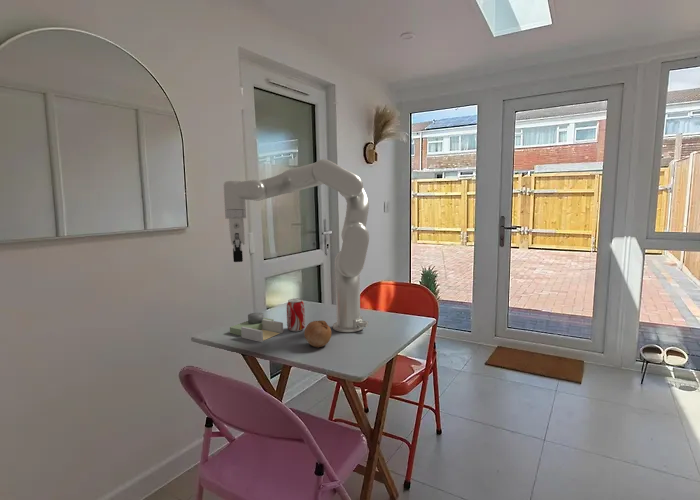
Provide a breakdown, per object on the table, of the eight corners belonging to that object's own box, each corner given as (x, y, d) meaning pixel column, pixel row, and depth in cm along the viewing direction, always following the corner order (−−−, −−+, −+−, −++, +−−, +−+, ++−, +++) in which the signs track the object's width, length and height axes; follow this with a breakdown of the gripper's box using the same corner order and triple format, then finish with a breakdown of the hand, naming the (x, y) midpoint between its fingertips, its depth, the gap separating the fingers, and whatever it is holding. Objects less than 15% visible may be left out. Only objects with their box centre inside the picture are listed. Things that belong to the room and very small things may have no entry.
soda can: (301, 332, 151) (301, 302, 150) (284, 332, 153) (283, 302, 151) (307, 327, 158) (306, 298, 157) (290, 326, 159) (290, 297, 158)
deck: (292, 328, 156) (291, 315, 156) (261, 342, 141) (260, 327, 141) (259, 322, 166) (259, 309, 165) (227, 334, 151) (226, 320, 150)
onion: (329, 352, 138) (341, 328, 137) (311, 353, 131) (324, 328, 130) (312, 337, 144) (324, 314, 143) (294, 338, 137) (306, 313, 135)
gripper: (247, 214, 138) (249, 262, 140) (245, 213, 155) (247, 256, 157) (224, 215, 136) (227, 263, 138) (225, 214, 152) (227, 257, 154)
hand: (237, 260), depth 147 cm, fingers open, 9 cm apart
